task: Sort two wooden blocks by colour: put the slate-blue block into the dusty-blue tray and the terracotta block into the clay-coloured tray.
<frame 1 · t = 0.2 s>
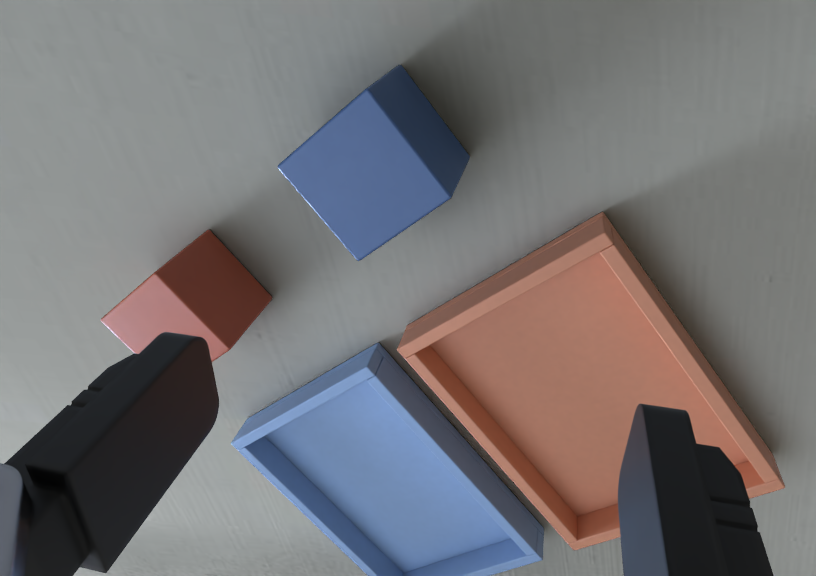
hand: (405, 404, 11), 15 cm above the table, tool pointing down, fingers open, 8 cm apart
blue block: (394, 144, 24), on the table
blue tray: (393, 472, 33), on the table
terracotta block: (214, 285, 30), on the table
clay tray: (585, 388, 28), on the table
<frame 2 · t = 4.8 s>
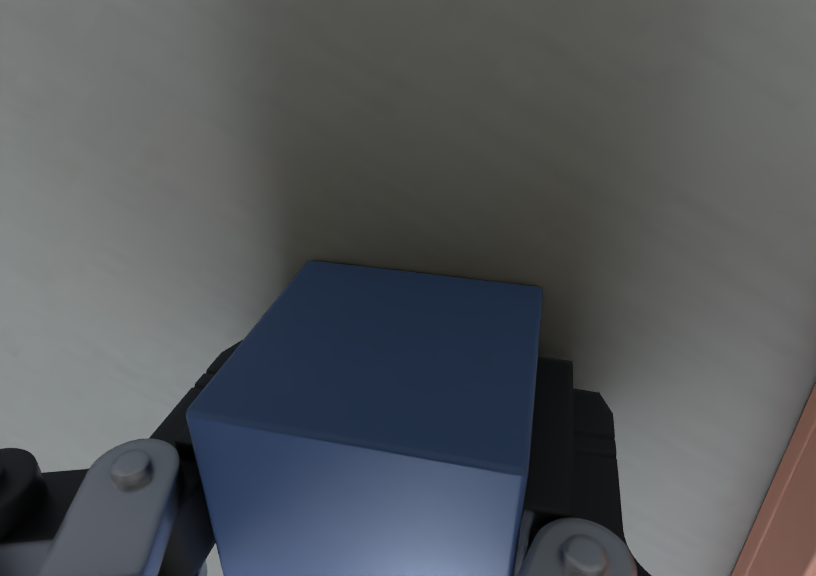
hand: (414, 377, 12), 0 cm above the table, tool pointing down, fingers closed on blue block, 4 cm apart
blue block: (419, 367, 12), on the table, touching gripper
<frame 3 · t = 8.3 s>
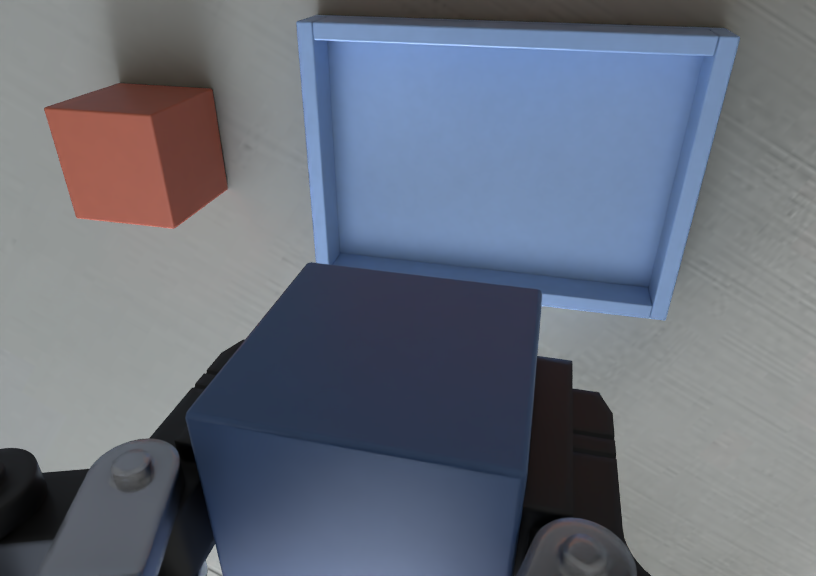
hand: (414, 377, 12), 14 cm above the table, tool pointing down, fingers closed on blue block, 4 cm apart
blue block: (418, 369, 12), point 14 cm above the table, touching gripper
blue tray: (496, 162, 24), on the table
terracotta block: (175, 137, 26), on the table
when the fingers open (1 cm above the table, at t = 11.6 s): blue block stays where it is, resting on blue tray.
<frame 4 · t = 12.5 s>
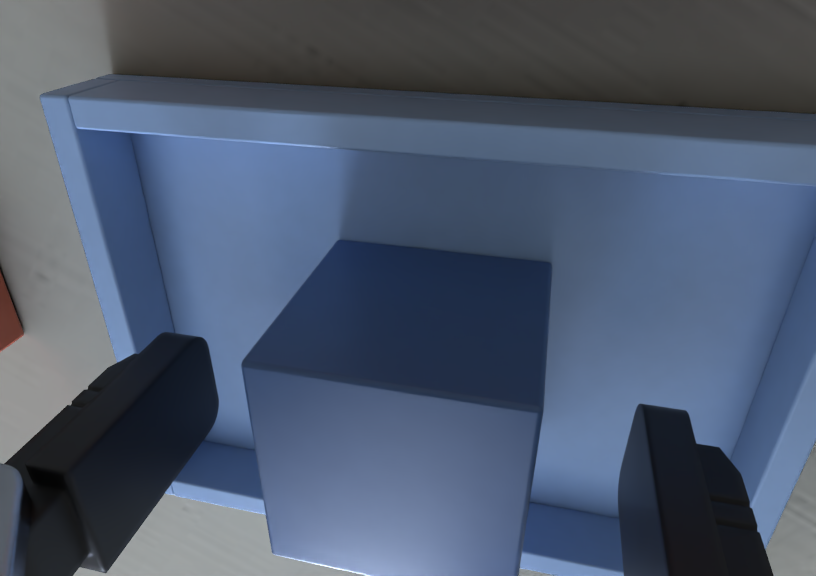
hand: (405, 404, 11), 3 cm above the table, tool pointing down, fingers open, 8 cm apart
blue block: (438, 339, 13), resting on blue tray
blue tray: (439, 324, 14), on the table
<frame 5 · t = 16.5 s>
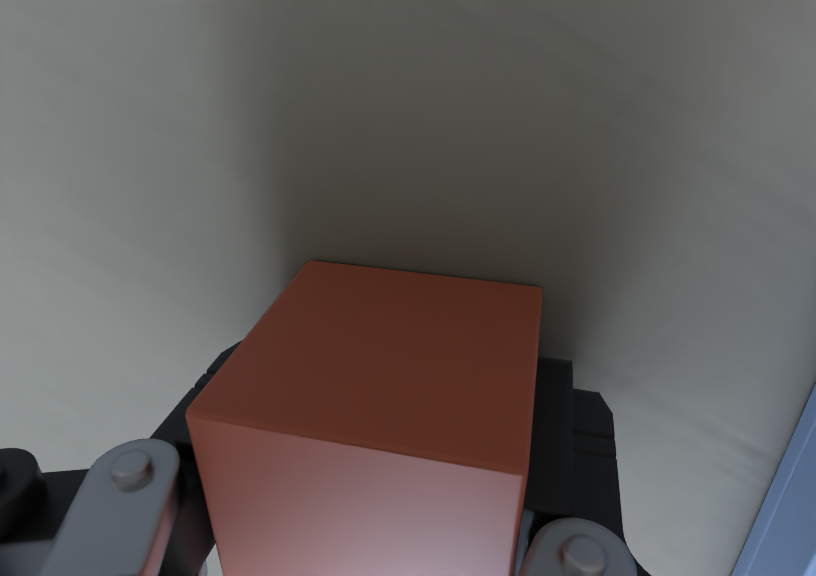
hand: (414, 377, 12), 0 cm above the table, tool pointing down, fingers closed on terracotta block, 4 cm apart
terracotta block: (419, 367, 12), on the table, touching gripper
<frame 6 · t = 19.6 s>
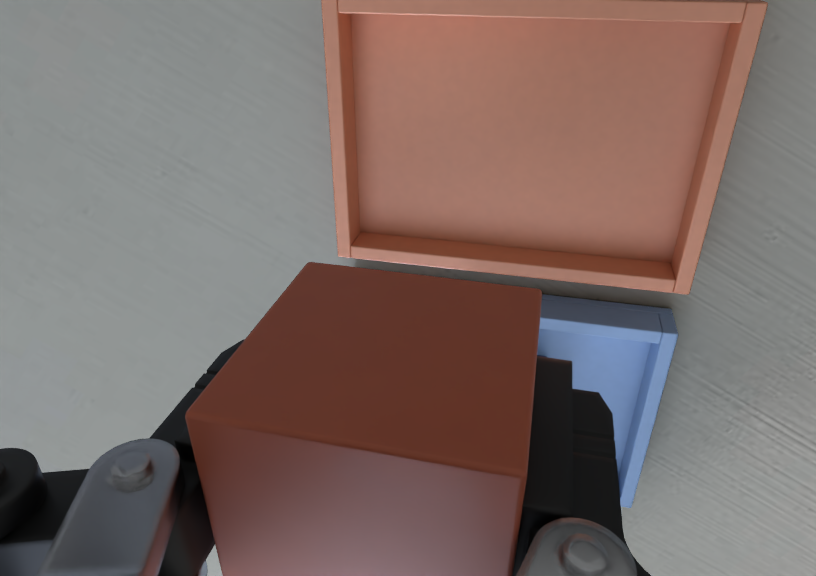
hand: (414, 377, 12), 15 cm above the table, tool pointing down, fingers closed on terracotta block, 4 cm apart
blue tray: (496, 378, 30), on the table
terracotta block: (418, 368, 12), point 14 cm above the table, touching gripper
clay tray: (518, 137, 24), on the table
when the fingers open (1 cm above the table, at t = 23.1 s): terracotta block stays where it is, resting on clay tray.
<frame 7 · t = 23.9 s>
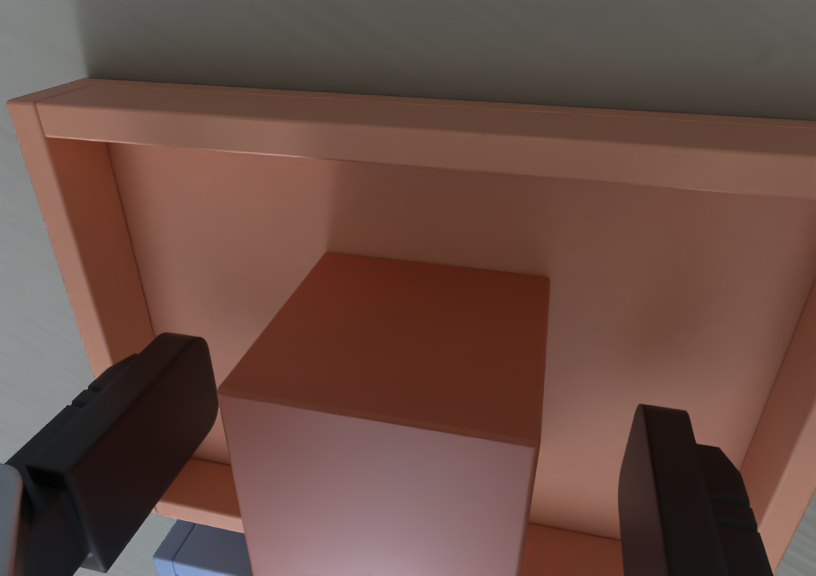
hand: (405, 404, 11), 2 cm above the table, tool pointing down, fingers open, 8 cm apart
terracotta block: (431, 355, 13), resting on clay tray
clay tray: (431, 339, 13), on the table
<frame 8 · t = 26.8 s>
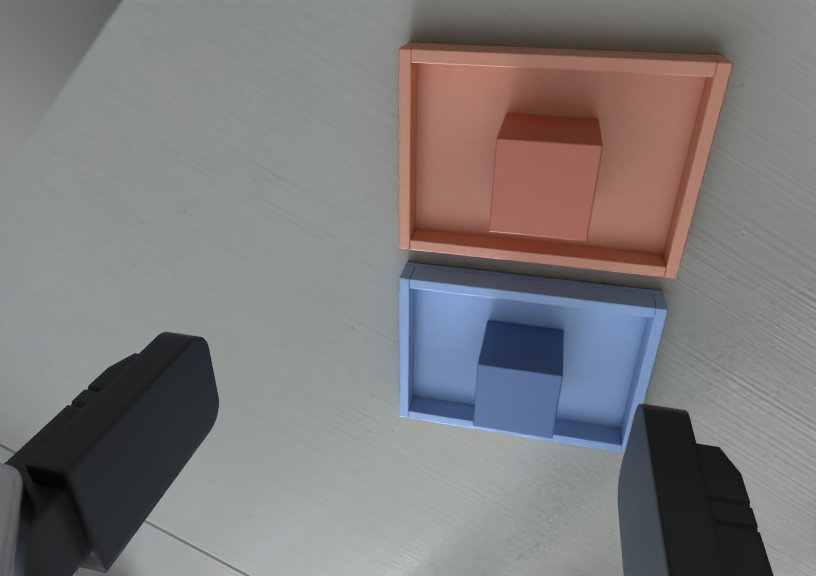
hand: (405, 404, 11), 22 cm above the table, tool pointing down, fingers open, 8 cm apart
blue block: (521, 354, 36), resting on blue tray
blue tray: (521, 349, 36), on the table
terracotta block: (546, 159, 30), resting on clay tray
clay tray: (544, 155, 30), on the table
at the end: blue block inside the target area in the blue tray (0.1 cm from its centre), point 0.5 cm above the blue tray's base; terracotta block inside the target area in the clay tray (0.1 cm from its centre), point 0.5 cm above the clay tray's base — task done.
